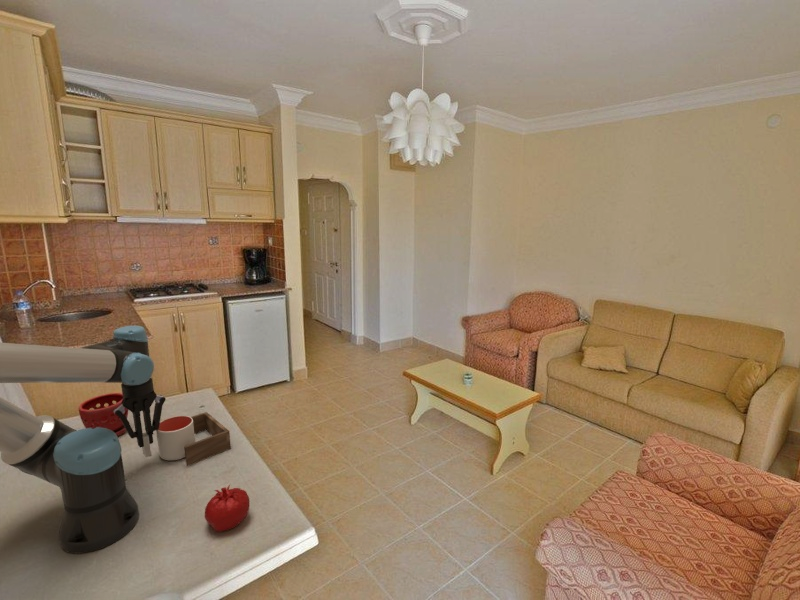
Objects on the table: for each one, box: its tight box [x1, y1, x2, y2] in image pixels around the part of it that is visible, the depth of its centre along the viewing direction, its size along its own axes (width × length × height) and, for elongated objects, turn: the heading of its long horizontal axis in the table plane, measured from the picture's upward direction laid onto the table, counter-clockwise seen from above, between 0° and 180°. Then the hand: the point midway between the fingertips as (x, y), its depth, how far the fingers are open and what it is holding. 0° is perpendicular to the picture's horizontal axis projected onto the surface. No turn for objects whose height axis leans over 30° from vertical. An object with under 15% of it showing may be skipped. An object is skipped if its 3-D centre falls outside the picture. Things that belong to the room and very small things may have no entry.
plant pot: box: [78, 392, 130, 437], centre depth 136 cm, size 13×13×12 cm
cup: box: [155, 415, 196, 461], centre depth 126 cm, size 10×10×10 cm
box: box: [184, 411, 232, 467], centre depth 130 cm, size 18×13×6 cm
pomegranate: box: [204, 484, 251, 532], centre depth 98 cm, size 10×10×9 cm
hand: (147, 454), depth 120 cm, fingers closed
